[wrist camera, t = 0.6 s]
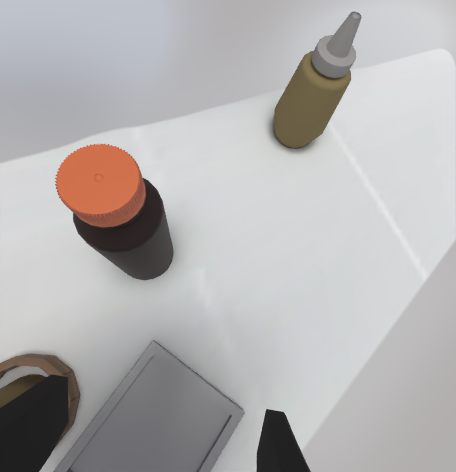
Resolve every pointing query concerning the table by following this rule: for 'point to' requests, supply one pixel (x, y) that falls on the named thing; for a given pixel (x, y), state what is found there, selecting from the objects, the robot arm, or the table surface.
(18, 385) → the pepper mill
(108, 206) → the vinegar
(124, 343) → the table surface
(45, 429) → the robot arm
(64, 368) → the ring
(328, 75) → the squeeze bottle
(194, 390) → the tray
